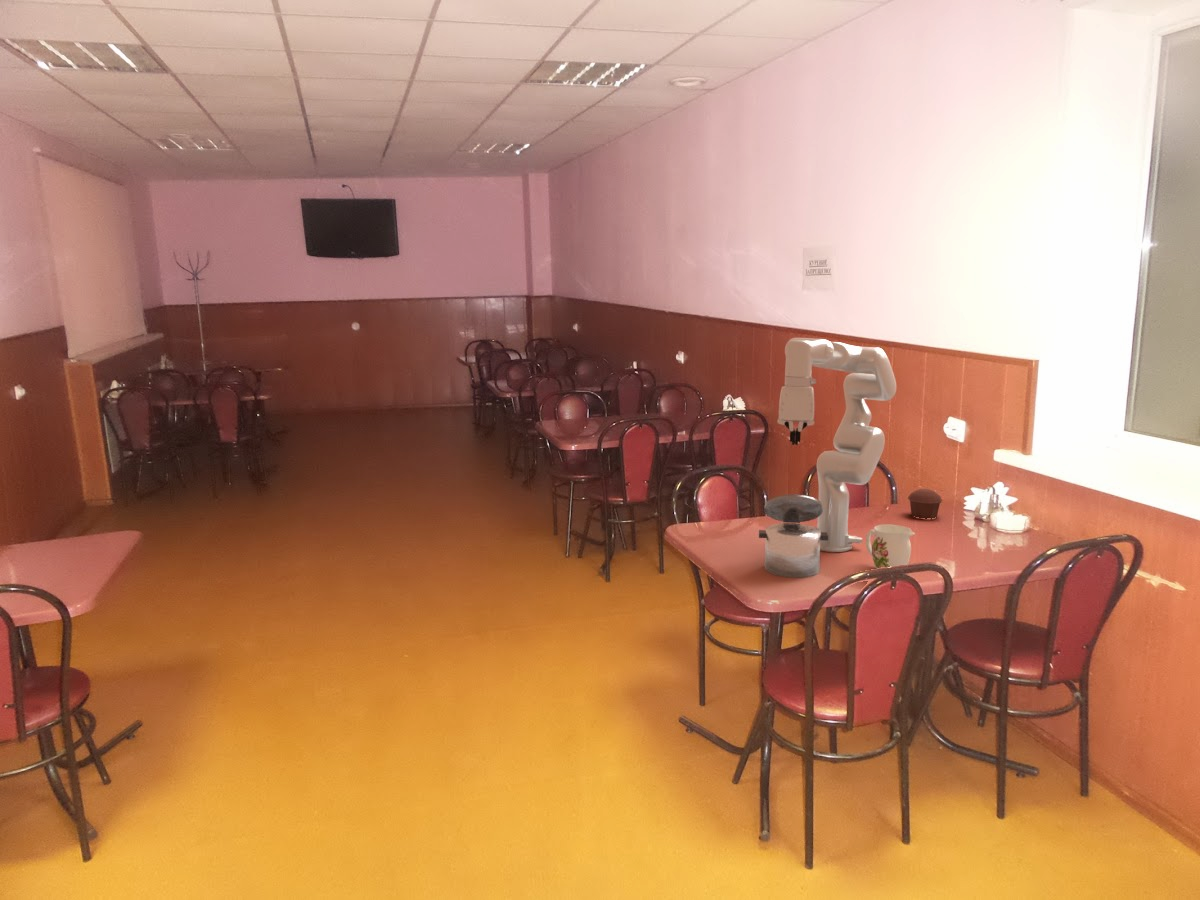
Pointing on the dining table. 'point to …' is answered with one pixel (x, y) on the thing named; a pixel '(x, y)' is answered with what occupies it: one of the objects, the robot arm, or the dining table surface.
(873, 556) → the pitcher
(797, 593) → the dining table surface
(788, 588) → the dining table surface
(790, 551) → the cooker pot
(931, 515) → the muffin
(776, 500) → the lid
